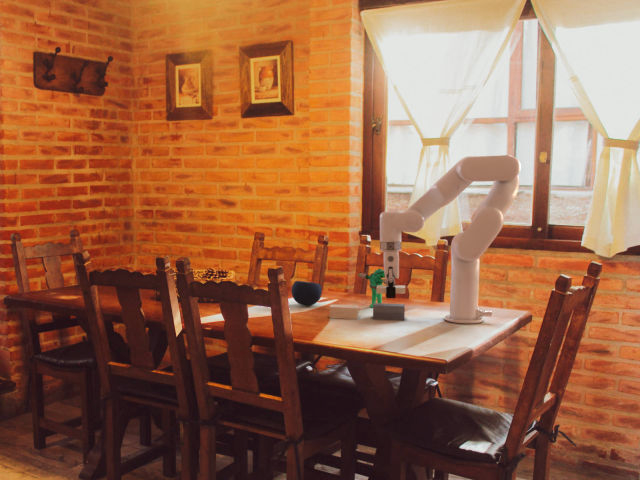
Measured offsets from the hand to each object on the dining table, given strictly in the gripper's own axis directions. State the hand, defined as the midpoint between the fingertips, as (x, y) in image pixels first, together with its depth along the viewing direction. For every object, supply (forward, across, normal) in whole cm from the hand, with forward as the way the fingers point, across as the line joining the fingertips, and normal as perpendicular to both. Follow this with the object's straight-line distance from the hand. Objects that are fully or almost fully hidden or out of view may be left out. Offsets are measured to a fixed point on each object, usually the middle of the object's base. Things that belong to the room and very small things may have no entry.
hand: (391, 295), depth 268 cm
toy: (+8, +20, +5) cm, 22 cm away
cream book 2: (+8, 0, +17) cm, 19 cm away
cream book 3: (-1, 0, 0) cm, 1 cm away
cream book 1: (+6, 0, +17) cm, 18 cm away
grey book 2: (+8, 0, +1) cm, 8 cm away
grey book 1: (+6, 0, +1) cm, 6 cm away
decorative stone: (+7, +20, +33) cm, 39 cm away
